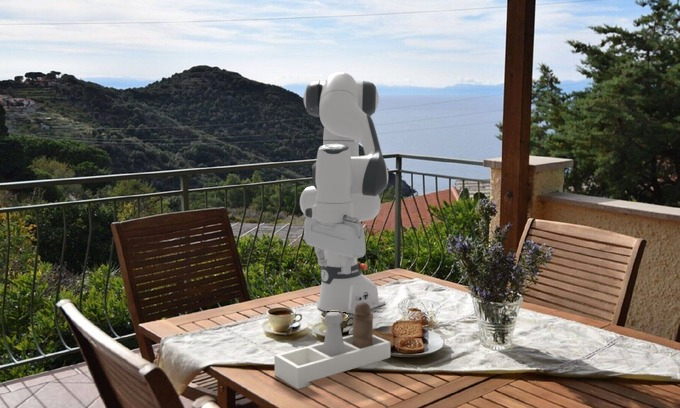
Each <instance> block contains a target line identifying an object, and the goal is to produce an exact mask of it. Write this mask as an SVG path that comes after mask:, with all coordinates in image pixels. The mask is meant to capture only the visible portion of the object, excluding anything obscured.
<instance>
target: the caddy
mask: <svg viewBox="0 0 680 408" xmlns="http://www.w3.org/2000/svg"><path fill="white" fill-rule="evenodd" d="M342 338H343V343H344V348H345V353H343V354H340V355H336V356H333V357H329V356H328V355H326V354H324V353H322V351H323V346H324V342H320V343H315V344H313V345H307V346H305V347H300V348H297V349H292V350H288V351H285V352H281V353H277V354H274V355H273V356H274V376H276V377H277V378H279V379H281V380H283V381H284V382H286V384H289V385H290V386H292V387H293V388H295V389H297V390H299V389H302V388H303V389H304V388H305V387H306V388H307V387H309V386H310V387H311V386H312V385H314V384H313V383H311V382H313V381H315V380H320V379H323V378H324V379H325V378H327V377H329V376H330V377H331V376H333V375H336V374H339V373H343V372H346V371H350V370H352V369H357V368H360V367H363V366H367V365H369V364H373V363H376V362H380V361H383V360H387V359H389V358H391V348H392V346H391V344H392V343H391V341H388V339H387V340H386V339H384V338H382V337H380V336H377V335H375V334H373V342H372V346H368V347H365V348H361V349H360V348H357V347H355V346H353V334H350V335H346V336H342Z"/></svg>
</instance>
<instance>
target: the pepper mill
mask: <svg viewBox="0 0 680 408" xmlns="http://www.w3.org/2000/svg"><path fill="white" fill-rule="evenodd" d="M371 310H372V309H371V308H370V306H369V305H368V304H367V303H365V302H361V303H359V304H357V305H356V307H355V312H354V313H353V314H352V335H353V346H355V347H357V348H360V349H361V348H365V347H368V346H372V342H373V335H374V334H373V332H374V331H373V328H374V326H373V322H374V321H373V320H374V319H373V318H374V317H373V312H372V311H371Z"/></svg>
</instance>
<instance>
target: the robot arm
mask: <svg viewBox="0 0 680 408" xmlns="http://www.w3.org/2000/svg"><path fill="white" fill-rule="evenodd" d="M379 101H380V97H379V92H378V90H377V86H376V85H375V84H374V83H373V82H370V81H367V80H362V81H361V80H356V79H355V78H354V77H353V76H352V75H350V74H349V73H346V72H340V71H338V72H335V73H334V72H333V73H331V74H330V75H329V76H328V77H326V79H325V80H323V81H321V80H316V81H311V82H310V83H309V84H308V85H306V89H305V91H304V94H303V105H304V107H305V110H306V113H307V114H309V115H310V116H313V117H317V118H319V119H320V122H321V124H322V126H323V138H322V139H323V140H322V141H323V142H322V144H323V145H320V146H319V147H318V150H317V155H316V161H315V162H314V164H312V166H311V170H312V171H311V177H312V178H311V179H312V181H311V185H310V186H307V187H305V189H303V190H302V193H301V194H300V197H299V206H300V207H299V208H300V210H301V212H302V213H303V217H304V218H305V219H304V223H303V232H304V233H303V234H304V235H303V237H304V242H305V243H306V245H307V246H311V247H314V252H315V255H316V258H317V265H318V266H320V277H321V279H320V280H321V285H320V292H319V297H318V301H317V305H316V307H317V308H318V309H319V310H321V311H324V312H327V311H330V310H338V311H343V312H346V313H345V314H352V315H353V313H354V312H355V307H356V305H357V304H359V303H361V302H365V303H367V304H368V305H369V306H370V308H371V310H372V309H376V308H377V307H379V306H384V305H386V300H385V299H384V298H383V297H381V296H379V290H378V287H377V284H376V283H375V282H373V281H372V280H371V279H369V278H368V277H367V276H365V275H364V274H363V273H362V271H367V270H368V265H367V263H360V262H358V259H359V258H360V259H361V258H363V257H364V256H365V255H366V250H367V249H366V237H365V231H364V227H363V224H362V223H361V222H365V221H372V220H374V219H375V218H376V217H377V216H378V214H379V212H380V210H381V206H382V205H381V199H380V198H381V197H380V196H379V195H380V194H381V193H382V192H383V191H385V190H386V189H387V187H388V182H389V171H388V167H387V164H386V161H385V158H384V156H383V153H382V149H381V145H380V141H379V138H378V134H377V130H376V127H375V124H374V121H373V118H372V116H373V115H374V114H375V112H376V110H377V108H378V106H379ZM359 144H360V145H362V147H363V153H364V155H360V153H359V149H360V147H359ZM361 270H362V271H361Z"/></svg>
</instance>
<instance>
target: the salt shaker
mask: <svg viewBox="0 0 680 408" xmlns="http://www.w3.org/2000/svg"><path fill="white" fill-rule="evenodd" d="M324 321H325V323H326V324H327V325H326V330H325V334H324V335H325V336H324V340H323V341H324V346H323V351H322V353H324V354H326V355H328V356H329V357H333V356H336V355H340V354H343V353H345V348H344V343H343V338H342V337H343V332H342V328H341V324H342V323H343V321H344V317H343V313H339V312H327V313H326V314H325V316H324Z"/></svg>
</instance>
